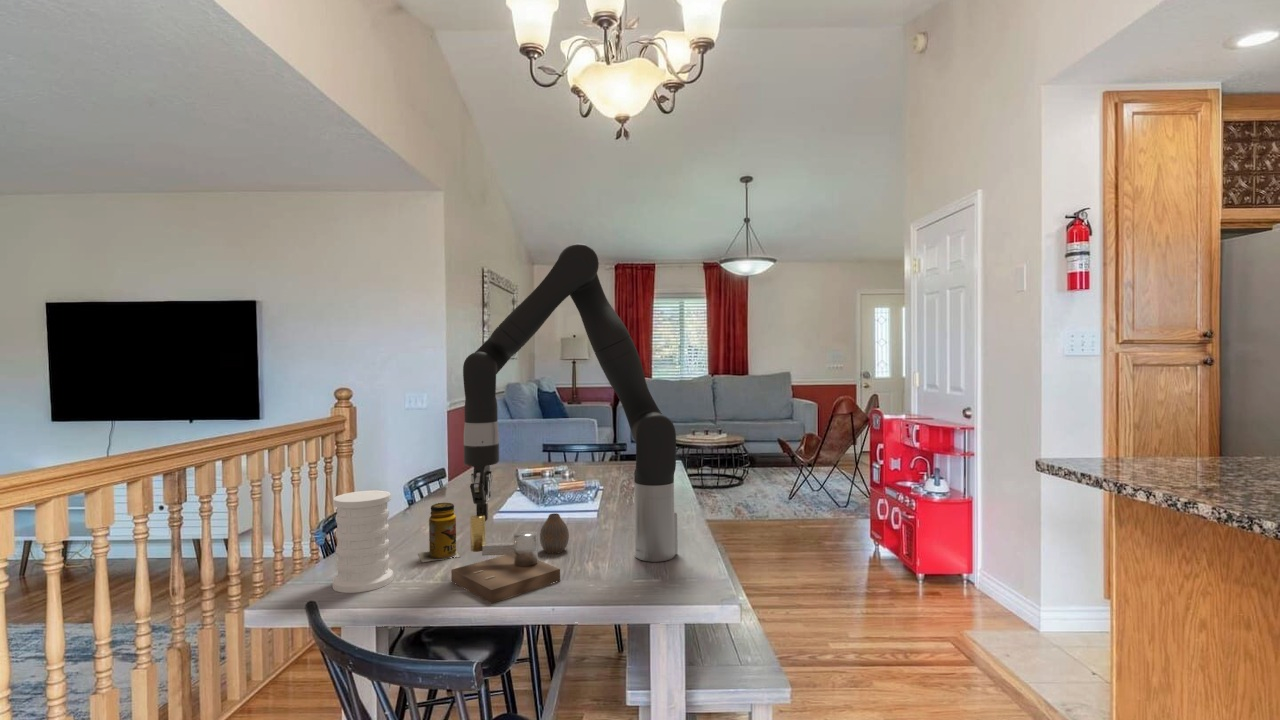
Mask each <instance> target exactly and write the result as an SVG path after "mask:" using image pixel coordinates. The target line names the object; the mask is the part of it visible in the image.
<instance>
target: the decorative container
mask: <svg viewBox="0 0 1280 720" xmlns="http://www.w3.org/2000/svg"><path fill="white" fill-rule="evenodd" d="M391 500H392V495H391V492H390V491H387V490H376V489H375V490H373V489H371V490H370V489H369V490H359V491H352V492H346V493H343V494H338V495H336V496H335V497H333V507H335V508H336V515H335V522H336V525H337V529H336V531H335V537H336V539H337V545H336V547H335V552H336V555H337V560H336V564H335V567H336V570H337V575H336V576H335V577H333V579H332V589H333V590H334V591H335V592H338V593H343V594H353V593H354V594H355V593H364V592H369V591H373V590H377V589H380V588H384V587H385V586H387V585H389V584H390V583H392V582H393V580H394V577H395V576H394V570H392V569H391V568H389V563H390V559H391V558H390V555H389V554H390V553H389V547H390V540H389V538H388V537H389V535H388V533H389V531H390V525H389V523H388V519H389V515H390V511H389V508H388V502H390V501H391Z"/></svg>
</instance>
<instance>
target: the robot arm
mask: <svg viewBox="0 0 1280 720" xmlns="http://www.w3.org/2000/svg"><path fill="white" fill-rule="evenodd" d="M599 263H600V262H599V258H598V255H597V253H596V251H595V250H594V249H593V248H592V247H590V246H589V245H587V244H584V243H574V244H571V245H568V246H566V247H565V248H564V249H563V250H562V251H561V253H560V254H559V255H558V258H557V260H556V262H555V263H554V265H553V266H552V268H551V269H550V271H549V272H548V273H547V275H546V276H545V277H544V279H542V280H541V282H540V283H539V284H538V285H537V286H536V288H535V289H534V290H533V291H532V292H531V293H530V294H529V295H527V297H526V298H525V299H524V300H523V301H522V302H520V303H519V304H518V305H517V306H516V307H515V309H513V310H512V311H511V312H510V313H509V314H508V315H507V316H506V317H505V319H503V320H502V321H501V323H500V324H499V325H498V326H496V328H495V329H494V330H493V331H492V333H491V334H490V336H489V338H488V339H487V340H486V341H485V342H484V343H482V345H481V346H480V347H479V348H477V349H476V351H474V352H471V354H469V355H468V356H467V357H466V358H465V359H464V363H463V364H462V374H463V375H462V378H463V388H464V389H463V390H464V399H465V401H464V428H463V463H464V465H465V466H469V467H473V473H471V474H470V482H471V483H470V485H469V488H470V493H471V496H472V497H471V498H472V502H473V504H475V505H476V509H475V510H476V511H475V512H476V515H485V522H487V521H488V518H489V503H490V498H491V492H492V491H491V490H492V483H493V478H494V477H493V476H494V475H493V471H492V470H491V466H494V465H497V464H498V463H499V462H500V433H499V431H500V429H499V424H498V423H499V422H498V420H499V419H498V402H497V397H496V394H497V393H496V391H497V390H496V389H497V388H496V387H497V374H499V372H500V370H502V368H503V367H504V366H505V365H506V364H507V363H508V362H509V360H510V359H511V358H513V356H514V355H516V354H517V353H518V352H519V351H520V350H522V348H523V347H524V346H525V345H526V344H527V343H528V342H529V341H530V340H531V338H533V336H534V335H536V333H537V332H538V331H539V329H540V328H541V327H542V326H543V325H544V324H545V322H546V321H547V319H548V318H549V317H550V316H551V315H552V313H554V311H555V310H556V309H557V308H558V307H559V306H560V305H561V304H562V303H563V302H564V301H565V300H566V299H567V298H568V297H569V296H570V298H571V300H572V301H573V304H574V306H575V307H576V309H577V310H578V313H579V316H580V318H581V321H582V324H583V327H584V330H585V333H586V335H587V338H588V341H589V343H590V345H591V348H592V350H593V352H594V355H595V358H596V359H597V361H598V363H599V365H600V368H601V370H602V371H603V373H604V376H605V377H606V379H607V381H608V383H609V385H611V388H612V390H613V391H614V392H615V395H616V396H617V397H618V399H619V402H620V403H621V406H622V408H623V411H624V415H625V417H626V419H627V423H628V427H629V429H630V431H631V436H632V438H633V440H634V442H635V468H634V471H633V473H634V474H633V476H634V477H633V479H634V481H633V483H634V486H633V488H634V550H635V551H634V557H635V558H636V559H637V560H640V561H645V562H651V563H652V562H653V563H654V562H657V563H659V562H666V561H670V560H672V559H673V558H675V557H676V555H678V547H679V546H678V541H679V540H678V514H677V512H675V473H676V469H677V468H676V467H677V465H676V464H677V433H676V428H675V425H674V423H673V422H672V420H671V419H670V418H669V417H667V416H666V415H663V413H662V411H661V410H660V408H659V407H658V405H657V403H656V402H655V400H654V398H653V396H652V394H651V392H650V389H649V387H648V384H647V381H646V376H645V372H644V368H643V363H642V361H641V357H640V355H639V352H638V350H637V348H636V346H635V343H634V340H633V339H632V337H631V335H630V332H629V331H628V329H627V326H626V325H625V323H624V321H622V319H621V318H620V316H619V315H618V313H617V312H616V311H615V310H614V308H613V306H612V305H611V304H610V302H609V299H608V298H607V296H606V294H605V292H604V290H603V287H602V284H601V282H600V279H599V275H598V271H599V265H600V264H599Z"/></svg>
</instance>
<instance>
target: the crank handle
mask: <svg viewBox="0 0 1280 720" xmlns="http://www.w3.org/2000/svg"><path fill="white" fill-rule="evenodd" d="M469 518H470V520H469V521H470V552H473V553H475V552H478V553H479V552H481V556H484V557H485V556H504V555H514V564H515V565H518V566H529V565H534V564H536V563H537V562H538V560H539V556H538V555H539V551H538V550H539V549H538V548H539V546H538V545H539V544H538V543H539V542H538V540H539V539H538V535H539V533H538V532H537V531H535V530H520V531H517V532H514V533H513V542H512V541H511V542H486V521H485V515H477V514H474V515H471V516H470V517H469Z"/></svg>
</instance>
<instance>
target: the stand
mask: <svg viewBox="0 0 1280 720" xmlns="http://www.w3.org/2000/svg"><path fill="white" fill-rule="evenodd" d="M450 571H451V572H450V577H451V581H452V582H451V583H453V582H454V583H453V584H455V583H456V584H455V585H457V584H458V585H457V586H459V587H460V586H461V587H460V588H462V587H463V588H462V589H464V588H465V589H464V590H466V589H467V590H466V591H468V592H470V593H471V594H473V593H474V595H475V596H477V597H479V598H482V599H483V600H485V601H486V602H488V603H491V604H494V603H497V602H500V601H502V600H505V599H509V598H511V597H515V596H518V595H521V594H524V593H528V592H531V591H534V590H537V589H540V588H543V587H547V586H549V585H552V584H554V583H553V582H555V583H557V582H556V581H559V580H560V581H561V568H559V567H557V566H554V565H551V564H549V563H547V562H544V561H541V560H539V559H538V562H537V563H536V564H534V565H529V566H518V565H515V564H514V555H499V556H496V557H493V558H490V559H486V560H483V561H478V562H474V563H471V564H468V565H464V566H459V567H456V568H452V569H451V570H450ZM560 581H559V582H560ZM551 583H552V584H551ZM548 584H549V585H548Z"/></svg>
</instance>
